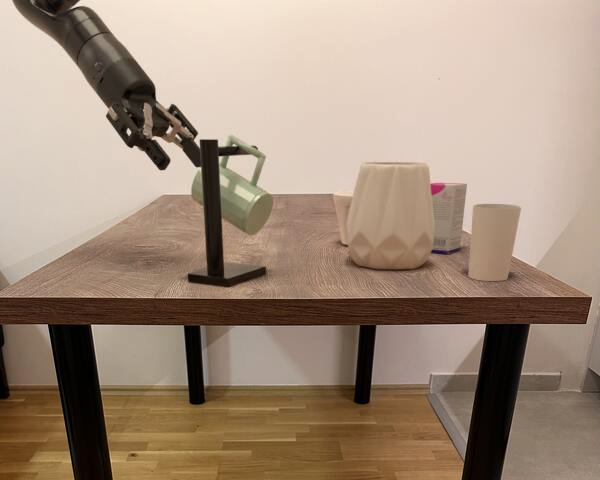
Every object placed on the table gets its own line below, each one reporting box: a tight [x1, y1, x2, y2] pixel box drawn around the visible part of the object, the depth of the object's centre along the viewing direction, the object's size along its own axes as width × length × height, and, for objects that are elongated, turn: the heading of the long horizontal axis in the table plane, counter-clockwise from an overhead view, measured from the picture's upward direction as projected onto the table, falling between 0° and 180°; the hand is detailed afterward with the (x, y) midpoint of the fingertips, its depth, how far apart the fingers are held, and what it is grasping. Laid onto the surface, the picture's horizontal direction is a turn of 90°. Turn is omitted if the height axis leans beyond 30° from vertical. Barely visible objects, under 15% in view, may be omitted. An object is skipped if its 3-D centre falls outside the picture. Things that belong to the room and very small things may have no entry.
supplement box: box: [430, 182, 468, 255], centre depth 113 cm, size 6×6×12 cm
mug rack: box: [187, 138, 267, 288], centre depth 91 cm, size 14×7×18 cm, turn 152°
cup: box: [332, 190, 354, 247], centre depth 119 cm, size 10×10×9 cm
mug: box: [190, 134, 274, 236], centre depth 91 cm, size 11×6×10 cm
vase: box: [346, 161, 435, 271], centre depth 101 cm, size 14×14×15 cm
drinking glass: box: [467, 203, 522, 282], centre depth 93 cm, size 7×7×10 cm
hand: (184, 164), depth 93 cm, fingers open, 8 cm apart
